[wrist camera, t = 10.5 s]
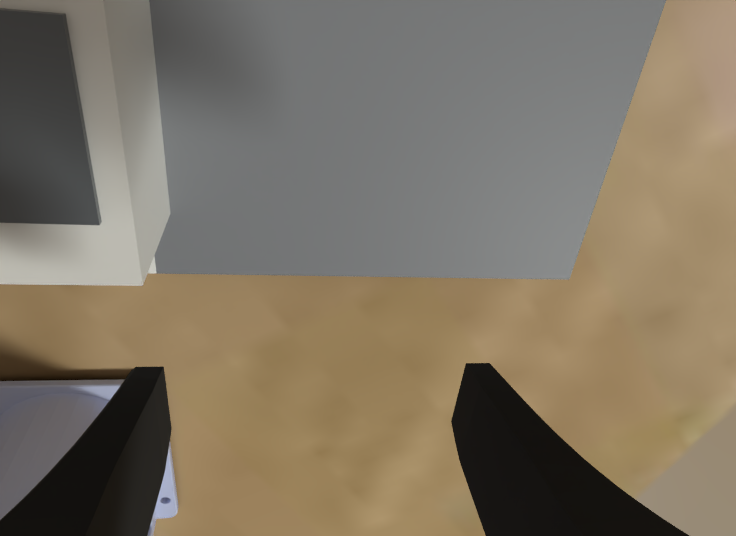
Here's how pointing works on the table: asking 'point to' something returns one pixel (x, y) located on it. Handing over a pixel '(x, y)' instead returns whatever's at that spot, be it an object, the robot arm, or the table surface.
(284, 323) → the table surface
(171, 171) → the board
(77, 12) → the block
